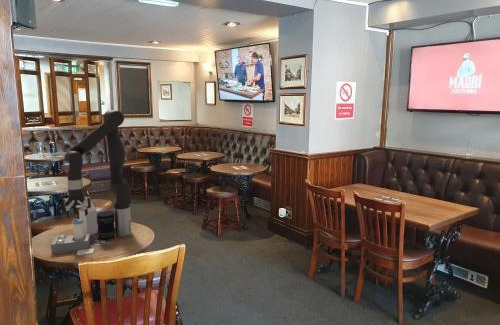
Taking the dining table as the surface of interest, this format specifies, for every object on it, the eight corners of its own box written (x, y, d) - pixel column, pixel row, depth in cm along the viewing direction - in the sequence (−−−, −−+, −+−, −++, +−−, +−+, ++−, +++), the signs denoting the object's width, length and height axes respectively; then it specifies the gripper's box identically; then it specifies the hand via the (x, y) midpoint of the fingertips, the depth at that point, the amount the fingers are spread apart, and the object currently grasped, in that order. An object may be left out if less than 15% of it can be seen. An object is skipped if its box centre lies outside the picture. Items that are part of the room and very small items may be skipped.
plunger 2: (64, 248, 198) (63, 239, 197) (63, 250, 195) (62, 241, 194) (58, 249, 197) (57, 239, 196) (57, 251, 194) (56, 241, 193)
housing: (90, 241, 209) (89, 233, 208) (88, 249, 198) (87, 240, 197) (55, 245, 203) (55, 236, 203) (51, 253, 192) (50, 244, 191)
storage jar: (115, 233, 222) (114, 210, 219) (115, 239, 212) (113, 215, 210) (98, 235, 218) (96, 211, 216) (97, 241, 209) (95, 216, 207)
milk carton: (98, 232, 224) (96, 203, 220) (87, 236, 218) (85, 205, 215) (91, 230, 227) (89, 201, 224) (80, 233, 221) (78, 203, 218)
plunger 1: (66, 243, 204) (65, 234, 203) (65, 245, 201) (64, 236, 200) (60, 244, 203) (59, 235, 202) (59, 246, 200) (58, 237, 199)
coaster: (94, 249, 198) (94, 248, 198) (93, 253, 192) (93, 252, 192) (78, 251, 195) (78, 250, 195) (76, 255, 190) (76, 254, 190)
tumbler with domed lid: (85, 244, 205) (83, 217, 203) (84, 247, 200) (82, 220, 198) (75, 245, 204) (72, 218, 201) (73, 248, 198) (71, 221, 196)
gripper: (59, 189, 191) (61, 219, 193) (89, 188, 195) (90, 217, 198) (62, 186, 198) (64, 215, 200) (90, 185, 202) (92, 213, 205)
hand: (77, 216), depth 199 cm, fingers open, 8 cm apart
